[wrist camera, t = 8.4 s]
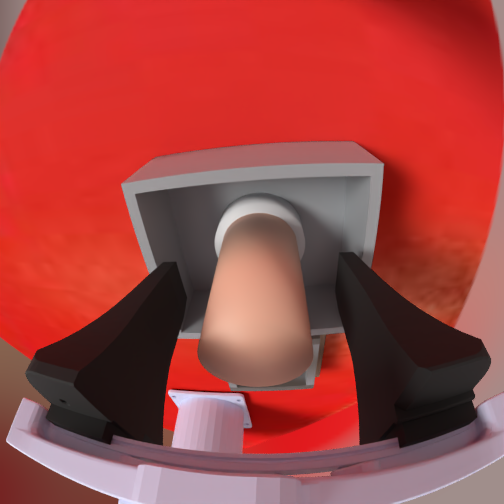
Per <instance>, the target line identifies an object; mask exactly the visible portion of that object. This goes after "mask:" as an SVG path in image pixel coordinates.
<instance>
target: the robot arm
mask: <svg viewBox="0 0 504 504" xmlns="http://www.w3.org/2000/svg"><path fill="white" fill-rule="evenodd" d="M335 294H336V300H337V306H338V311H339V315H340V318H341V321H342V325H343V328H344V332H345V335H346V338H347V342H348V345H349V349H350V352H351V357H352V361H353V367H354V374H355V381H356V390H357V399H358V412H359V436H360V445H359V446H353V447H346V448H340V449H333V450H323V451H314V452H301V453H284V454H242V447H243V432H244V428H251V427H252V423H251V419H250V416H249V412H248V409H247V405H246V401H245V398H244V395H243V394H241V393H214V392H195V391H182V390H169V392H168V394H169V395H170V397H171V398H172V400H173V401H174V403H175V404H176V405H177V407H178V408H179V411H178V416H177V421H176V426H175V431H174V436H173V442H172V447H167V446H163V416H164V403H165V394H166V386H167V379H168V373H169V367H170V363H171V359H172V355H173V352H174V349H175V345H176V342H177V339H178V335H179V332H180V329H181V325H182V322H183V319H184V314H185V308H186V302H187V295H186V292H185V289H184V286H183V282H182V279H181V276H180V273H179V269H178V266H177V262H176V261H175V262H163V263H162V264H160V265H159V266H158V267H157V268H156V269H155V270H153V271H152V272H151V273H150V274H149V275H148V276H147V277H146V278H145V279H144V280H143V281H142V282H141V283H140V284H139V285H138V286H136V287H135V288H134V289H133V290H132V291H131V292H130V293H129V294H128V295H126V296H125V297H124V298H123V299H122V300H121V301H120V302H118V303H117V304H116V305H115V306H114V307H112V308H111V309H110V310H109V311H107V312H106V313H105V314H103V315H102V316H101V317H99V318H98V319H96V320H95V321H93V322H92V323H90V324H88V325H87V326H85V327H84V328H82V329H81V330H79V331H77V332H75V333H74V334H72V335H70V336H68V337H66V338H64V339H62V340H60V341H58V342H56V343H53V344H51V345H49V346H46V347H44V348H41V349H39V350H37V351H36V353H35V355H34V357H33V359H32V361H31V363H30V365H29V367H28V369H27V370H26V373H25V374H26V377H27V379H28V381H29V382H30V383H31V385H32V386H33V387H34V388H35V389H36V390H38V392H39V393H40V394H41V395H42V396H44V397H45V398H46V399H47V400H48V401H49V402H50V403H51V406H50V409H49V410H48V409H46V408H45V407H43V406H42V405H40V404H39V403H37V402H34V401H32V400H30V399H27V398H23V400H22V402H21V404H20V407H19V409H18V411H17V414H16V416H15V419H14V421H13V424H12V426H11V429H10V431H9V434H8V437H7V439H6V441H7V443H9V444H10V445H12V446H13V447H15V448H16V449H18V450H19V451H21V452H22V453H24V454H26V455H27V456H29V457H30V458H32V459H34V460H36V461H37V462H39V463H41V464H42V465H44V466H46V467H48V468H50V469H51V470H53V471H55V472H57V473H59V474H61V475H63V476H65V477H67V478H69V479H71V480H74V481H76V482H78V483H80V484H83V485H85V486H87V487H90V488H92V489H94V490H97V491H100V492H102V493H104V494H107V495H110V496H113V497H116V498H118V499H119V503H118V504H399V503H403V502H406V501H409V500H412V499H415V498H418V497H421V496H424V495H426V494H429V493H431V492H434V491H437V490H439V489H441V488H444V487H446V486H448V485H451V484H453V483H455V482H457V481H459V480H462V479H463V478H466V477H468V476H470V475H472V474H473V473H475V472H477V471H479V470H481V469H483V468H485V467H487V466H488V465H490V464H492V463H493V462H495V461H497V460H498V459H500V458H502V457H503V456H504V392H502V393H500V394H498V395H496V396H493V397H491V398H489V399H487V400H485V401H484V402H482V403H481V404H480V405H478V406H477V407H476V408H474V406H473V403H472V400H473V399H474V398H475V394H474V392H473V388H474V387H475V386H476V385H477V383H478V382H479V381H480V380H481V379H482V378H483V376H484V375H485V374H486V372H487V371H488V369H489V367H490V364H491V358H490V356H489V354H488V352H487V350H486V348H485V346H484V344H483V342H482V340H481V339H478V338H476V337H473V336H471V335H468V334H466V333H463V332H461V331H459V330H456V329H454V328H452V327H450V326H448V325H446V324H444V323H442V322H441V321H439V320H437V319H435V318H434V317H432V316H430V315H429V314H427V313H425V312H424V311H422V310H421V309H419V308H418V307H416V306H415V305H413V304H412V303H411V302H409V301H408V300H406V299H405V298H404V297H402V296H401V295H400V294H399V293H397V292H396V291H395V290H394V289H393V288H391V287H390V286H389V285H388V284H387V283H386V282H384V281H383V280H382V279H381V278H380V277H379V276H378V275H377V274H376V273H375V272H374V271H373V270H372V269H371V268H370V267H368V266H367V265H366V264H365V263H364V262H363V261H362V260H361V259H360V258H359V257H358V256H357V255H356V254H355V253H354V252H339V257H338V267H337V277H336V286H335ZM329 471H332V472H331V476H322V477H293V476H287V475H297V474H310V473H320V472H329Z"/></svg>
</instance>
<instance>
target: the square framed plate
mask: <svg viewBox="0 0 504 504" xmlns="http://www.w3.org/2000/svg"><path fill="white" fill-rule="evenodd" d="M311 337H312V345H313V361H312V363H311V365H310V367H309V368H308V369H307V370H306V371H305V372H304V373H303V374H302V375H300V376H299V377H297V378H295V379H293V380H291V381H289V382H286V383H283V384H279V385H274V386H267V387H249V386H241V385H236V384H233V383H229V382H228V383H229V386H230V389H231V391H274V390H295V389H309V388H313V386H314V380H315V377H319V375H320V369H321V363H322V357H323V351H324V344H325V338H326V334H324V335H312V336H311Z"/></svg>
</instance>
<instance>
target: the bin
mask: <svg viewBox="0 0 504 504" xmlns="http://www.w3.org/2000/svg"><path fill="white" fill-rule="evenodd" d="M383 170H384V163H382V162H381V161H380V160H378V159H377V158H376V157H374V156H373V155H372V154H370V153H369V152H368V151H366V150H365V149H364V148H362V147H361V146H359V145H358V144H357V143H355V142H354V141H308V142H282V143H266V144H252V145H241V146H231V147H221V148H213V149H205V150H197V151H190V152H183V153H177V154H170V155H164V156H159V157H155V158H153V159H152V160H151V161H149V162H148V163H147V164H146V165H144V166H143V167H142V168H140V169H139V170H138V171H137V172H135V173H134V174H133V175H132V176H130V177H129V178H128V179H127V180H125V181H124V182H123V183H122V184H121V186H122V189H123V193H124V197H125V200H126V204H127V207H128V210H129V214H130V217H131V220H132V224H133V227H134V230H135V233H136V236H137V239H138V242H139V245H140V248H141V251H142V254H143V257H144V260H145V263H146V266H147V268H148V271H149V274H150V273H151V272H152V271H153V270H155V269H156V268H157V267H158V266H159V265H160V264H162V263H163V262H175V261H176V262H177V266H178V269H179V273H180V276H181V279H182V282H183V286H184V289H185V292H186V295H187V302H186V308H185V314H184V319H183V322H182V325H181V329H180V332H179V335H178V338H185V339H200V336H201V331H202V327H203V322H204V318H205V313H206V309H207V304H208V300H209V296H210V291H211V287H212V283H213V279H214V274H215V270H216V266H217V262H218V256H217V254H216V250H215V235H216V232H217V228H218V225H219V222H220V219H221V216H222V214H223V212H224V210H225V209H226V208H227V206H228V205H229V204H230V203H232V202H233V201H234V200H236V199H237V198H239V197H241V196H244V195H246V194H250V193H270V194H274V195H276V196H279V197H281V198H283V199H285V200H286V201H287V202H289V203H290V204H291V205H292V206H293V207H294V209H295V210H296V211H297V213H298V215H299V217H300V220H301V224H302V229H303V233H304V237H305V250H304V254H303V257H302V259H301V261H300V263H301V269H302V275H303V282H304V288H305V295H306V301H307V308H308V315H309V322H310V330H311V336H312V335H324V334H336V333H345V332H344V328H343V325H342V321H341V318H340V315H339V311H338V306H337V300H336V294H335V286H336V277H337V267H338V257H339V252H354V253H355V254H356V255H357V256H358V257H359V258H360V259H361V260H362V261H363V262H364V263H365V264H366V265H367V266H368V267H370V268H371V266H372V260H373V254H374V248H375V242H376V235H377V228H378V220H379V212H380V203H381V194H382V183H383Z"/></svg>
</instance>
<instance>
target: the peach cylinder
mask: <svg viewBox="0 0 504 504" xmlns="http://www.w3.org/2000/svg"><path fill="white" fill-rule="evenodd" d="M215 250H216V254H217V256H218V262H217V266H216V270H215V274H214V279H213V283H212V287H211V291H210V296H209V300H208V304H207V309H206V313H205V318H204V322H203V327H202V331H201V336H200V340H199V345H198V351H197V352H198V358H199V360H200V362H201V364H202V365H203V367H204V368H205V369H206V370H207V371H208V372H210V373H211V374H212V375H214V376H216V377H217V378H219V379H221V380H224V381H226V382H229V383H233V384H236V385H241V386H249V387H267V386H274V385H279V384H283V383H286V382H289V381H291V380H293V379H295V378H297V377H299V376H300V375H302V374H303V373H304V372H305V371H306V370H307V369H308V368H309V367H310V365H311V363H312V361H313V345H312V337H311V330H310V322H309V315H308V308H307V301H306V295H305V288H304V282H303V275H302V269H301V263H300V261H301V259H302V257H303V254H304V250H305V237H304V233H303V229H302V224H301V220H300V217H299V215H298V213H297V211H296V210H295V209H294V207H293V206H292V205H291V204H290V203H289V202H287V201H286V200H285V199H283V198H281V197H279V196H276V195H274V194H270V193H250V194H246V195H244V196H241V197H239V198H237V199H236V200H234V201H233V202H232V203H230V204H229V205H228V206H227V208H226V209H225V210H224V212H223V214H222V216H221V219H220V222H219V225H218V228H217V232H216V235H215Z"/></svg>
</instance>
